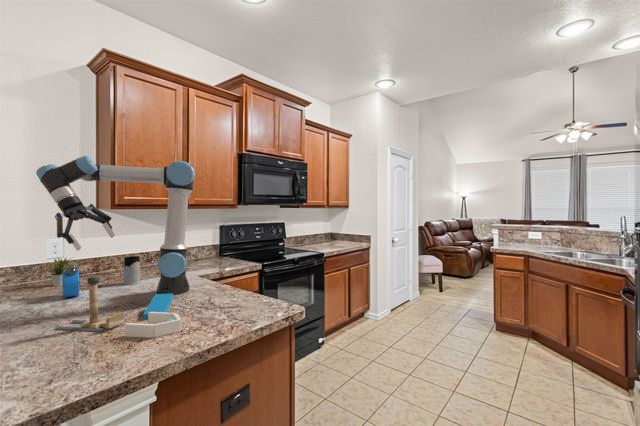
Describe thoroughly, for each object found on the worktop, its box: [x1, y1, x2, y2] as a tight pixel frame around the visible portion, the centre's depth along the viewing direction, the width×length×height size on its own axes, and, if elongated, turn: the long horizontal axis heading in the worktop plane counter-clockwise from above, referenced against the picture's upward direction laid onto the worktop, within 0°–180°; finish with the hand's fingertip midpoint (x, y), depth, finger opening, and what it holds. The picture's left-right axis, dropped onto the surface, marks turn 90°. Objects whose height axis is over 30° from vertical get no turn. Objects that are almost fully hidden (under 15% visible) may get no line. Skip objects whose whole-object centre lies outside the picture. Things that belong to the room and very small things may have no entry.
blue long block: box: [143, 293, 174, 320], centre depth 126 cm, size 7×7×18 cm
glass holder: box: [118, 255, 142, 286], centre depth 175 cm, size 9×14×15 cm, turn 71°
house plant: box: [44, 256, 76, 287], centre depth 171 cm, size 14×14×16 cm
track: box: [54, 319, 104, 333], centre depth 109 cm, size 18×7×1 cm, turn 83°
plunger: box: [80, 276, 125, 329], centre depth 108 cm, size 12×6×17 cm, turn 83°
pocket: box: [124, 311, 183, 339], centre depth 105 cm, size 16×12×4 cm
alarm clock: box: [62, 264, 81, 300], centre depth 148 cm, size 13×6×15 cm, turn 38°
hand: (97, 242), depth 126 cm, fingers open, 13 cm apart
